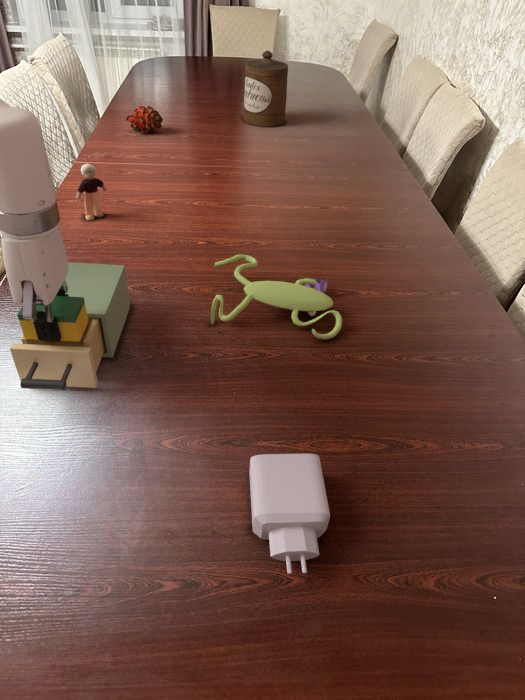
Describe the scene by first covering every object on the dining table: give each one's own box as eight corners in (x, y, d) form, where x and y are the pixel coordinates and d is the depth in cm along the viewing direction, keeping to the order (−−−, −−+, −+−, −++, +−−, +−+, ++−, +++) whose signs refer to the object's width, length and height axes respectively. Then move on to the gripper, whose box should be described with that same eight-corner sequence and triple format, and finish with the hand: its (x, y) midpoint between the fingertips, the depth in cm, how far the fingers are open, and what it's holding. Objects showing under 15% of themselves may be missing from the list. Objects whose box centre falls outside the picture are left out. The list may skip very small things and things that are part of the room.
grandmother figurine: (89, 224, 122) (80, 170, 114) (77, 219, 123) (68, 166, 115) (113, 212, 127) (106, 160, 119) (102, 208, 128) (94, 156, 120)
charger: (255, 585, 60) (249, 476, 71) (334, 582, 61) (315, 474, 72) (257, 565, 57) (250, 454, 68) (340, 562, 57) (320, 453, 69)
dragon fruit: (166, 138, 172) (130, 141, 173) (166, 116, 174) (131, 119, 175) (159, 121, 164) (121, 124, 165) (159, 98, 166) (122, 101, 167)
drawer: (87, 411, 77) (79, 375, 72) (9, 407, 76) (-5, 371, 72) (115, 333, 91) (110, 299, 86) (49, 330, 90) (40, 295, 86)
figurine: (219, 270, 110) (219, 247, 106) (345, 289, 107) (350, 266, 104) (194, 322, 96) (193, 297, 92) (338, 346, 93) (343, 321, 90)
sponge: (24, 339, 76) (16, 314, 73) (36, 318, 80) (29, 294, 77) (79, 341, 76) (74, 317, 73) (88, 321, 80) (83, 297, 77)
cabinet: (112, 357, 87) (105, 314, 81) (36, 354, 87) (23, 310, 81) (130, 306, 98) (124, 265, 93) (62, 303, 98) (53, 261, 92)
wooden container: (235, 118, 188) (236, 48, 173) (265, 111, 196) (269, 44, 182) (263, 129, 180) (267, 58, 166) (293, 122, 188) (299, 53, 174)
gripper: (21, 185, 72) (49, 294, 84) (-32, 246, 59) (9, 364, 71) (76, 188, 73) (95, 296, 84) (34, 250, 60) (64, 367, 71)
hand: (56, 326), depth 78 cm, fingers closed on sponge, 5 cm apart
